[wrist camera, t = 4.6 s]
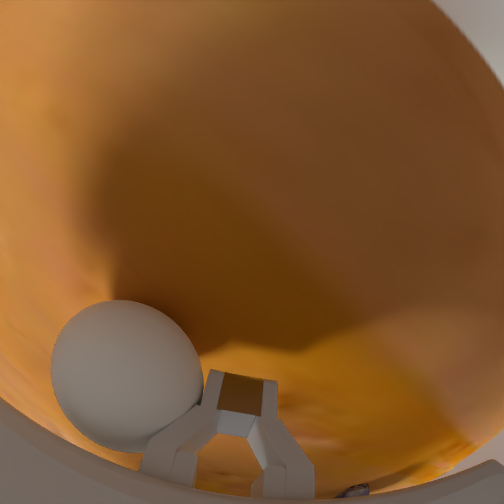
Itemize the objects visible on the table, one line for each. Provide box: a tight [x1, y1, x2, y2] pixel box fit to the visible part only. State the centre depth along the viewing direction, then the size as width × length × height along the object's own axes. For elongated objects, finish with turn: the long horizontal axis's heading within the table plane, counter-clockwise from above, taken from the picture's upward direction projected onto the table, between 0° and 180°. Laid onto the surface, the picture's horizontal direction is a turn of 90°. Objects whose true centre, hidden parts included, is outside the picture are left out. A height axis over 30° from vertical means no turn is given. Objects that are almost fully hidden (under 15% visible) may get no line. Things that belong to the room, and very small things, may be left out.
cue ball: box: [51, 300, 204, 453], centre depth 8 cm, size 6×6×6 cm
